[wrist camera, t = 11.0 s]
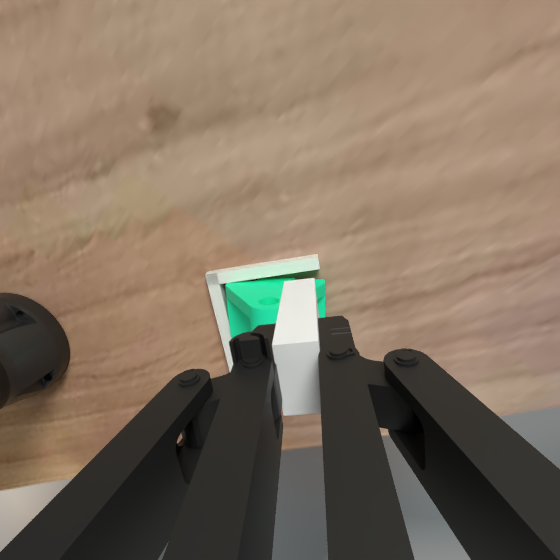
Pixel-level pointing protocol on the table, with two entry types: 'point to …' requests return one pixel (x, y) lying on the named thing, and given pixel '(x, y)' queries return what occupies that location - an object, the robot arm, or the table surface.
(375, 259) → the table surface
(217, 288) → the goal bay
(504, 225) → the table surface
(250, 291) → the camera mount
